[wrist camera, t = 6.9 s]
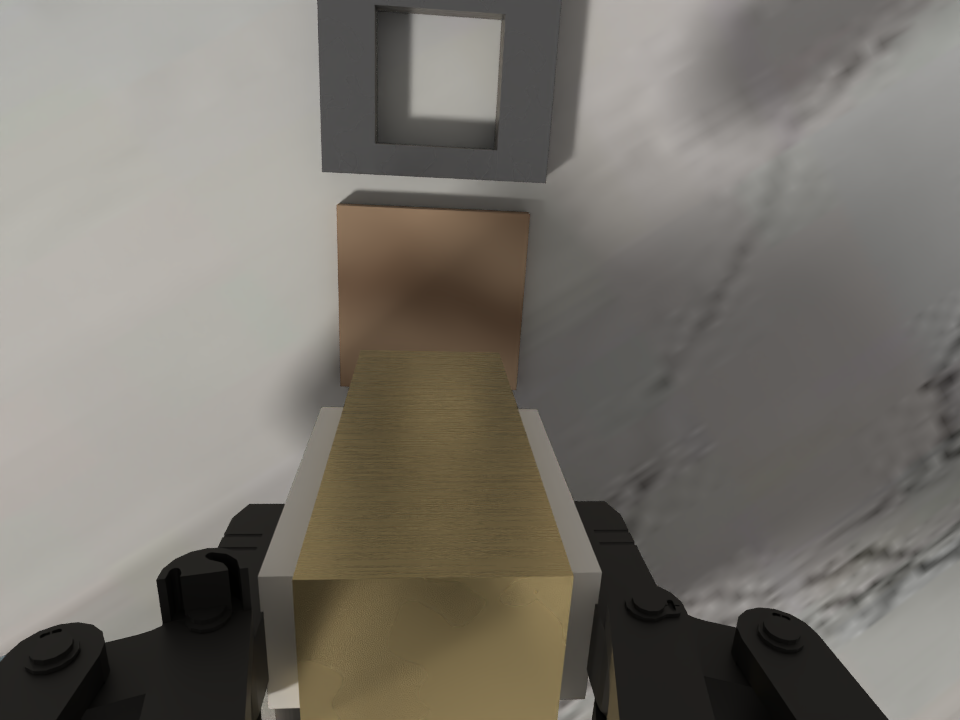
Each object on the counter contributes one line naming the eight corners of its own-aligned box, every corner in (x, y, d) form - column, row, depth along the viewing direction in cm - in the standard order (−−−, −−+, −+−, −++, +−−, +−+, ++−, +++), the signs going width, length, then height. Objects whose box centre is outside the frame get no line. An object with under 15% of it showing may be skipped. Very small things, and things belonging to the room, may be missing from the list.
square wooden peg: (491, 473, 20) (550, 775, 11) (362, 473, 20) (304, 786, 10) (499, 352, 19) (574, 576, 9) (360, 349, 18) (292, 580, 9)
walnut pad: (514, 384, 34) (516, 389, 33) (342, 380, 33) (340, 386, 32) (527, 212, 31) (530, 214, 30) (338, 203, 30) (336, 205, 29)
